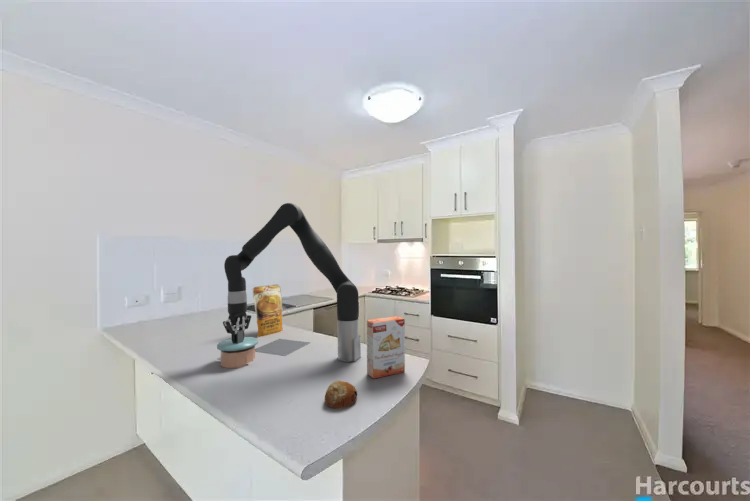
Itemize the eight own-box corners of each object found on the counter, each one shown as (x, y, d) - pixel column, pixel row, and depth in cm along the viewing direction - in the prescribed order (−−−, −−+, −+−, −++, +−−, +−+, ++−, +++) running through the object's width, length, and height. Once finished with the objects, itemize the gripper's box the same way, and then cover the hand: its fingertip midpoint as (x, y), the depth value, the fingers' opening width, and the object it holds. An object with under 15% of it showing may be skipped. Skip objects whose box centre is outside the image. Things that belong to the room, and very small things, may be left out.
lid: (265, 341, 133) (265, 327, 133) (237, 353, 118) (236, 337, 118) (238, 337, 139) (238, 324, 139) (208, 348, 124) (207, 334, 124)
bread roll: (331, 404, 99) (321, 383, 99) (359, 389, 100) (348, 368, 100) (330, 421, 89) (318, 398, 89) (360, 405, 90) (348, 382, 90)
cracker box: (373, 380, 109) (372, 322, 109) (366, 374, 114) (365, 319, 114) (405, 372, 115) (405, 318, 115) (397, 366, 121) (396, 315, 120)
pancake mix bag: (250, 337, 165) (249, 286, 165) (280, 329, 180) (279, 283, 180) (256, 339, 161) (255, 287, 161) (287, 331, 176) (286, 284, 175)
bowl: (261, 358, 132) (260, 345, 132) (237, 369, 120) (237, 354, 120) (239, 355, 137) (238, 342, 137) (214, 365, 125) (214, 351, 125)
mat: (311, 344, 151) (311, 342, 151) (285, 357, 133) (285, 355, 133) (279, 340, 159) (279, 338, 159) (250, 352, 140) (250, 350, 140)
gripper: (230, 304, 121) (231, 347, 121) (256, 299, 134) (256, 337, 134) (216, 303, 123) (217, 345, 124) (243, 298, 136) (244, 335, 137)
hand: (238, 341), depth 129 cm, fingers closed on lid, 3 cm apart
